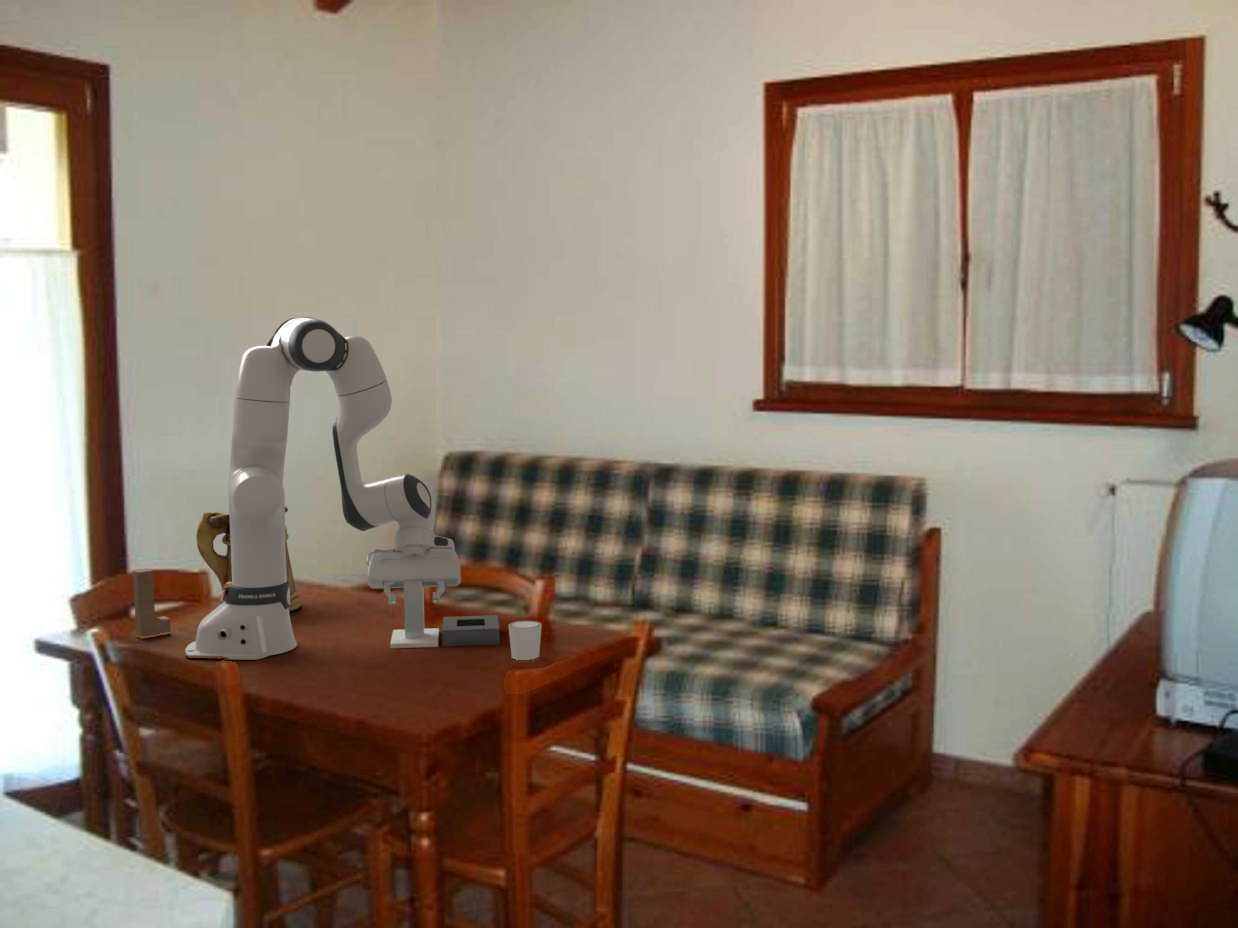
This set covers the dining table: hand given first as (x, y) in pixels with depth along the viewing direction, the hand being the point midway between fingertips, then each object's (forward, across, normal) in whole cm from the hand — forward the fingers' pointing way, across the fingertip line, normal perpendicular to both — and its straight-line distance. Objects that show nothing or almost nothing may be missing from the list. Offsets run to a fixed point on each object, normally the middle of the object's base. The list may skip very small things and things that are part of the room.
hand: (414, 601), depth 265 cm
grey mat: (+6, 0, +7) cm, 9 cm away
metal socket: (+6, +12, +7) cm, 15 cm away
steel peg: (+5, 0, +6) cm, 8 cm away
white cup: (+18, +23, -5) cm, 30 cm away
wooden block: (-3, -58, +16) cm, 60 cm away
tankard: (-17, -40, +30) cm, 53 cm away
